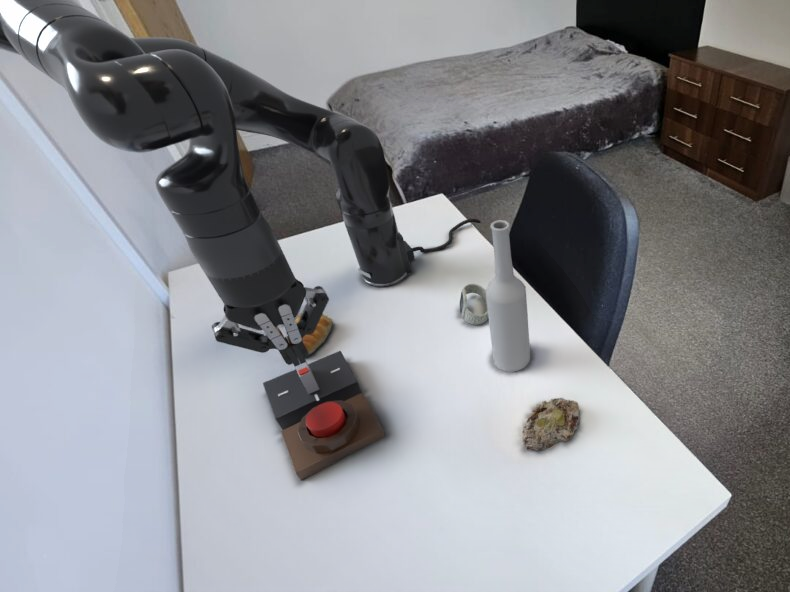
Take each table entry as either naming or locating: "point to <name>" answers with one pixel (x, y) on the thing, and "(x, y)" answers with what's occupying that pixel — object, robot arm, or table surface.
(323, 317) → the pastry
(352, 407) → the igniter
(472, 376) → the table surface
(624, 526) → the table surface
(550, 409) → the mineral rock
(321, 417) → the button
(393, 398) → the table surface
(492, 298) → the bottle
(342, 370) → the panel
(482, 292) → the wristwatch
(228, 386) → the table surface
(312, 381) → the grey block red tab
